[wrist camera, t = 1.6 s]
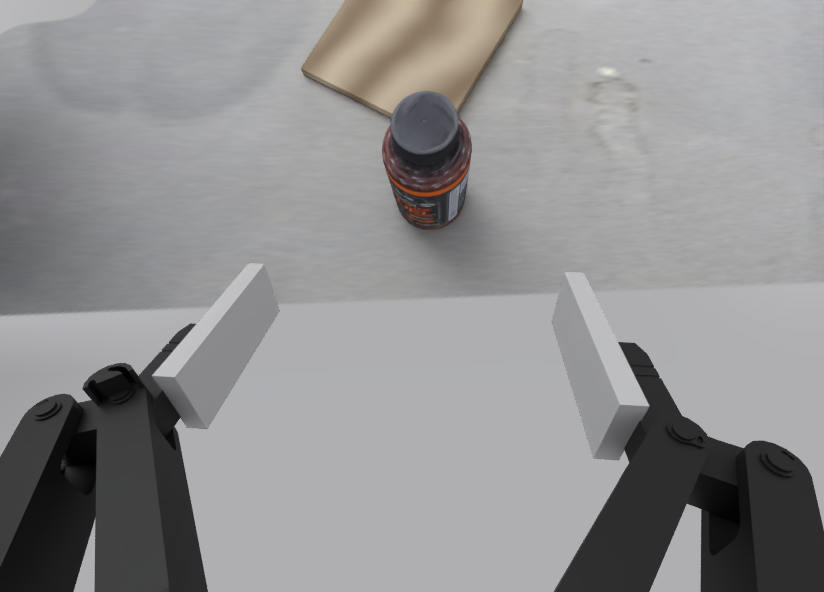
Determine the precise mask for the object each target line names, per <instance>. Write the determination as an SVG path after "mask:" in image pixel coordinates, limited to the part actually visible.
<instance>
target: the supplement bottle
mask: <svg viewBox="0 0 824 592" xmlns="http://www.w3.org/2000/svg"><path fill="white" fill-rule="evenodd" d="M471 152H472V144H471V137H470V134H469V131H468V129H467V127H466V125H465V123H464V122H463V121H462V120H461V119H460V118H459V116H458V114H457V110H456V108H455V107H454V105H453V103H452V102H451V101H450V100H449V99H448V98H447V97H445V96H444V95H442V94H440V93H437V92H432V91H422V92H416V93H413V94H411V95H409V96H407V97H405V98H404V99H403V100H402V101H401V102H400V103H399V104H398V105H397V107H396V108H395V110H394V112H393V114H392V118H391V124H390V126H389V128H388V129H387V132H386V134H385V137H384V141H383V146H382V154H383V162H384V165H385V168H386V172H387V175H388V178H389V181H390V184H391V187H392V190H393V193H394V197H395V199H396V202H397V206H398V208H399V210H400V212H401V214H402V215H403V216H404V218H405V219H406V220H407V221H408V222H410V223H411V224H413V225H414V226H417V227H420V228H424V229H436V228H441V227H444V226H446V225H448V224H449V223H450V222H452V221H453V220H454V219H455V218H456V217H457V216H458V215H459V213H460V212H461V210H462V207H463V204H464V200H465V194H466V187H467V180H468V173H469V167H470V159H471Z"/></svg>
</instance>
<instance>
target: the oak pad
mask: <svg viewBox="0 0 824 592" xmlns="http://www.w3.org/2000/svg"><path fill="white" fill-rule="evenodd" d="M522 3H523V0H345V2H344V3H343V5H342V6H341V8H340V9H339V11H338V12H337V14H336V15H335V17H334V18H333V20H332V21H331V23H330V24H329V26H328V27H327V29H326V31H325V32H324V34H323V35H322V37H321V38H320V40H319V41H318V43H317V44H316V46H315V47H314V49H313V50H312V52H311V53H310V55H309V56H308V58H307V60H306V61H305V63H304V64H303V66H302V67H301V70H302V72H303V74H304V75H306V76H308V77H310V78H312V79H314V80H316V81H318V82H320V83H322V84H324V85H326V86H328V87H330V88H332V89H334V90H336V91H338V92H340V93H342V94H344V95H346V96H348V97H350V98H352V99H354V100H356V101H358V102H360V103H362V104H364V105H366V106H368V107H370V108H372V109H374V110H376V111H378V112H380V113H382V114H384V115H386V116H388V117H390V118H392V114H393V112H394V110H395V108H396V107H397V105H398V104H399V103H400V102H401V101H402V100H403V99H404V98H405V97H407V96H409V95H411V94H413V93H416V92H422V91H432V92H437V93H440V94H442V95H444V96H445V97H447V98H448V99H449V100H450V101H451V102H452V103H453V105H454V107H455V108H456V110H457V113H458V112H459V110H460V108H461V107H462V105H463V103H464V102H465V100H466V98H467V97H468V95H469V94H470V92H471V90H472V89H473V87H474V85H475V84H476V82H477V80H478V79H479V77H480V75H481V74H482V72H483V71H484V69H485V67H486V66H487V64H488V62H489V61H490V59H491V57H492V56H493V54H494V52H495V51H496V49H497V48H498V46H499V44H500V43H501V41H502V39H503V38H504V36H505V34H506V33H507V31H508V29H509V28H510V26H511V25H512V23H513V21H514V20H515V18H516V16H517V15H518V13H519V11H520V10H521V8H522Z"/></svg>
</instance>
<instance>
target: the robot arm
mask: <svg viewBox="0 0 824 592" xmlns="http://www.w3.org/2000/svg"><path fill="white" fill-rule="evenodd" d="M279 311H280V310H279V307H278V304H277V301H276V298H275V295H274V292H273V289H272V285H271V282H270V279H269V276H268V273H267V270H266V267H265V264H252V263H248V265H247V266H246V267H245V268H244V269H243V270H242V272H241V273H240V274H239V275H238V276H237V277H236V279H235V280H234V281H233V282H232V283H231V284H230V286H229V287H228V288H227V289H226V290H225V291H224V293H223V294H222V295H221V296H220V297H219V298H218V299H217V301H216V302H215V303H214V304H213V305H212V306H211V308H210V309H209V310H208V311H207V312H206V313H205V315H204V316H203V317H202V318H201V319H200V320H199V322H198V323H197V324H189V325H188V326H186V327H185V328H183V329H182V330H180V331H179V332H178V333H177V334H176V335H175V336H174V337H173V338H172V339H171V340H170V342H169V344H167V345H166V346H165V347H164V348H163V349H162V352H160V353H159V354H158V355H157V356H156V357H155V358H154V359H153V360H152V362H151V363H150V364H149V365H148V366H147V367H146V368H145V369H144V371H143V372H142V373H141V374H140V375H139V376H138V375H137V374H136V372H135V371H134V370H133V368H132V367H131V365H128V364H126V363H118V364H114V365H110V366H107V367H105V368H103V369H101V370H99V371H97V372H96V373H94V374H93V375H92V376H90V377H89V378H88V380H87V381H86V382H85V383H84V386H83V390H84V391H85V392H86V394H87V395H88V396H89V397H90V398H91V399H92V400H91V401H85V402H80V403H77V402H76V400H75V399H74V398H73V397H72V396H71V395H68V394H59V395H55V396H52V397H49V398H46V399H44V400H42V401H40V402H39V403H37V404H36V405H34V406H33V407H32V408H31V409H29V410H28V411H27V413H26V414H25V415H24V417H23V418H22V419H21V421H20V423H19V425H18V427H17V428H16V430H15V432H14V434H13V435H12V437H11V439H10V441H9V442H8V444H7V446H6V448H5V450H4V452H3V453H2V455H1V457H0V592H73V591H74V588H75V584H76V581H77V577H78V574H79V571H80V567H81V564H82V560H83V557H84V554H85V550H86V547H87V544H88V540H89V537H90V534H91V530H92V527H93V523H94V520H95V517H96V529H95V530H96V531H95V534H96V535H95V537H96V538H95V592H208V590H207V585H206V579H205V575H204V569H203V564H202V558H201V553H200V548H199V542H198V537H197V532H196V526H195V521H194V516H193V510H192V505H191V500H190V495H189V489H188V484H187V479H186V473H185V468H184V463H183V459H182V452H181V447H180V442H179V437H178V432H177V430H176V428H175V427H174V426H175V424H176V423H177V422H178V420H179V419H180V418H181V419H182V421H183V422H184V424H185V425H186V427H187V428H199V429H208V427H209V425H210V424H211V422H212V420H213V419H214V417H215V416H216V414H217V412H218V411H219V409H220V407H221V406H222V404H223V403H224V401H225V399H226V398H227V396H228V394H229V393H230V391H231V390H232V388H233V386H234V385H235V383H236V381H237V380H238V378H239V376H240V375H241V373H242V372H243V370H244V368H245V367H246V365H247V363H248V362H249V360H250V359H251V357H252V355H253V353H254V352H255V350H256V349H257V347H258V345H259V344H260V342H261V340H262V339H263V337H264V336H265V334H266V333H267V331H268V329H269V327H270V326H271V324H272V323H273V321H274V319H275V318H276V316H277V314H278V313H279ZM552 325H553V328H554V332H555V335H556V338H557V341H558V345H559V348H560V351H561V354H562V358H563V361H564V364H565V367H566V370H567V374H568V377H569V380H570V384H571V387H572V390H573V393H574V397H575V400H576V403H577V406H578V410H579V413H580V416H581V419H582V423H583V426H584V429H585V432H586V436H587V439H588V442H589V445H590V449H591V452H592V455H593V458H595V459H609V460H619V459H620V457H621V455H622V453H623V452H624V450H625V452H626V455H627V457H628V460H629V465H628V466H627V468H626V469H625V471H624V473H623V474H622V476H621V478H620V480H619V482H618V483H617V485H616V487H615V488H614V490H613V492H612V493H611V495H610V497H609V498H608V500H607V502H606V504H605V505H604V507H603V509H602V510H601V512H600V514H599V515H598V517H597V519H596V521H595V522H594V524H593V526H592V528H591V529H590V531H589V533H588V534H587V536H586V538H585V539H584V541H583V543H582V544H581V546H580V548H579V550H578V551H577V553H576V555H575V556H574V558H573V560H572V562H571V563H570V565H569V567H568V568H567V570H566V572H565V573H564V575H563V577H562V579H561V580H560V582H559V584H558V585H557V587H556V589H555V590H554V592H649V591H650V589H651V586H652V584H653V582H654V579H655V577H656V575H657V572H658V570H659V568H660V565H661V563H662V560H663V558H664V556H665V553H666V551H667V549H668V546H669V544H670V542H671V539H672V537H673V535H674V532H675V530H676V528H677V525H678V523H679V520H680V518H681V516H682V513H683V511H684V509H685V506H686V504H689V505H692V506H695V507H698V508H700V509H702V511H701V513H702V514H701V592H824V530H823V526H822V521H821V516H820V512H819V507H818V503H817V499H816V494H815V490H814V485H813V481H812V477H811V475H810V473H809V471H808V469H807V467H806V466H805V465H804V464H803V463H802V461H801V460H800V459H799V458H798V457H796V456H795V455H793V454H792V453H791V452H789V451H788V450H787V449H784V448H782V447H780V446H778V445H776V444H774V443H770V442H766V441H752V442H751V443H749V444H748V445H746V447H745V448H741V447H738V446H735V445H731V444H728V443H725V442H722V441H719V440H716V439H713V438H710V437H708V436H707V434H706V433H705V432H704V431H703V429H702V428H701V427H700V426H699V425H697V424H696V423H694V422H693V421H691V420H690V419H688V418H685V417H683V416H682V415H681V413H680V412H679V410H678V408H677V406H676V405H675V403H674V401H673V399H672V397H671V395H670V394H669V392H668V390H667V388H666V387H665V385H664V383H663V381H662V380H661V378H659V374H658V372H657V371H656V369H655V368H654V365H653V364H652V362H651V360H650V358H649V356H648V355H647V353H645V352H644V351H643V350H642V349H641V348H640V347H638V345H636V344H635V343H623V342H618V341H617V339H616V337H615V335H614V333H613V331H612V330H611V327H610V325H609V323H608V321H607V319H606V317H605V315H604V313H603V311H602V309H601V307H600V305H599V303H598V301H597V299H596V297H595V295H594V293H593V291H592V289H591V287H590V285H589V283H588V281H587V278H586V276H585V274H584V273H579V272H564V276H563V280H562V284H561V288H560V292H559V295H558V299H557V303H556V307H555V311H554V315H553V319H552Z"/></svg>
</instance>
